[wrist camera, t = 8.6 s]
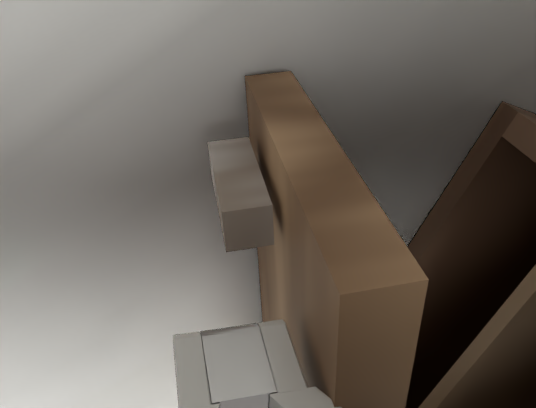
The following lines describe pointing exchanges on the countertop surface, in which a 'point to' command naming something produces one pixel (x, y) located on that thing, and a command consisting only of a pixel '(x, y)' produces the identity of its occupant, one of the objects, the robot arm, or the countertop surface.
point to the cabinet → (481, 276)
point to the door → (320, 248)
